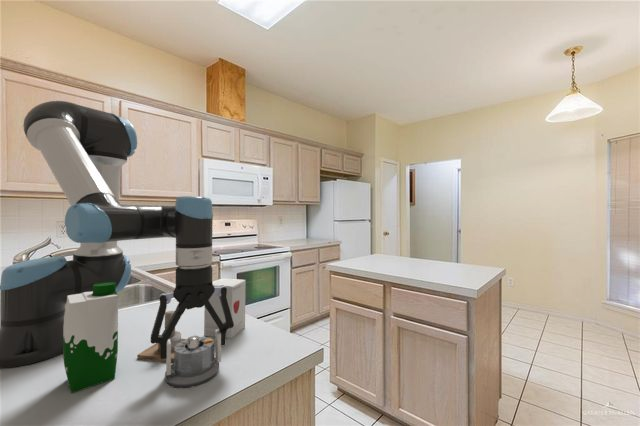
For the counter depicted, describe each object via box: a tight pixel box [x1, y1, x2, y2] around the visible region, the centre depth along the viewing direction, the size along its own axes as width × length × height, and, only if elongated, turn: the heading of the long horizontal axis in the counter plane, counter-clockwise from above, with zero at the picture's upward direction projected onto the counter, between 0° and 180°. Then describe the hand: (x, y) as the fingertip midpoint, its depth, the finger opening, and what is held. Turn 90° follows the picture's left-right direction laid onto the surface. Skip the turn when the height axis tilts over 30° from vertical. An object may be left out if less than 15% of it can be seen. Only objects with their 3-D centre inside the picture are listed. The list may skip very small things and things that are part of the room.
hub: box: [164, 335, 220, 389], centre depth 64 cm, size 11×11×8 cm
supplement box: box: [203, 278, 247, 339], centre depth 86 cm, size 9×9×15 cm
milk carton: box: [62, 282, 119, 394], centre depth 61 cm, size 9×9×20 cm
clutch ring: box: [173, 336, 215, 377], centre depth 64 cm, size 8×8×5 cm
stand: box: [136, 310, 187, 364], centre depth 73 cm, size 10×10×10 cm
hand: (194, 365), depth 64 cm, fingers open, 9 cm apart
